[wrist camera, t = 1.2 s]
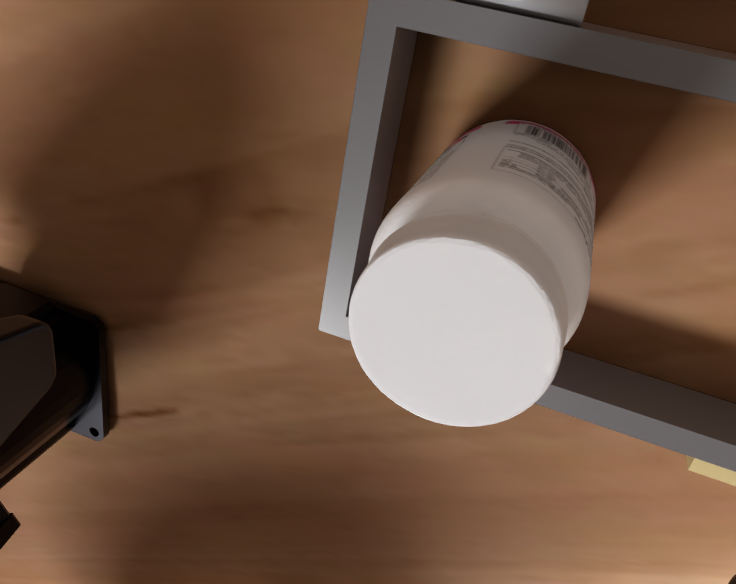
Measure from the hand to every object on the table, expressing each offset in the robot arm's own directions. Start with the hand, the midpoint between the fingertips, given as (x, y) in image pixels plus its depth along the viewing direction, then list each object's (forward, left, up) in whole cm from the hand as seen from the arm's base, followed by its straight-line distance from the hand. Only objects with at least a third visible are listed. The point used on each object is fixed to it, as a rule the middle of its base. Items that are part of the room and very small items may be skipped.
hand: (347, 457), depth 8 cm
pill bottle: (-1, 0, -13) cm, 13 cm away
